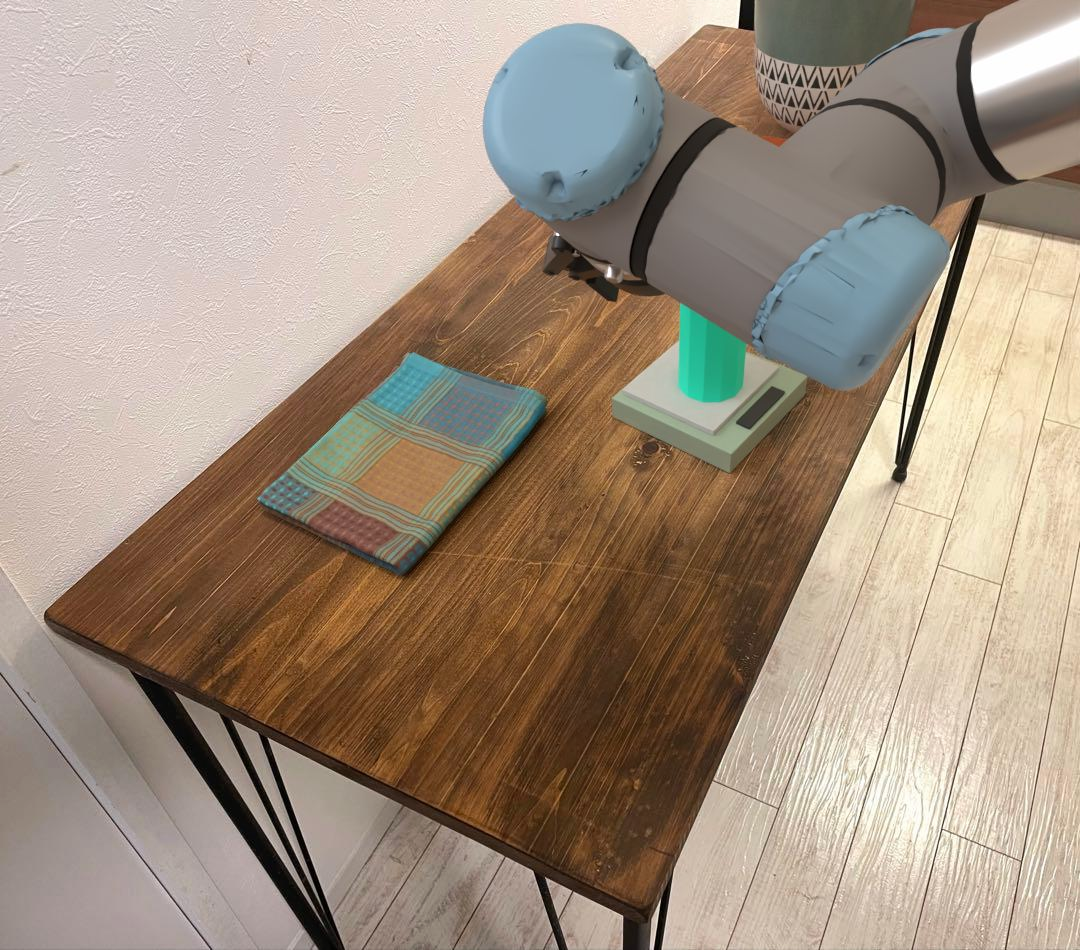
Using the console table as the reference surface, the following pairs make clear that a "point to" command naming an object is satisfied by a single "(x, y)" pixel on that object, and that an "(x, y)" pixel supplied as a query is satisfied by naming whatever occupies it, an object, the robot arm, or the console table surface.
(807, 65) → the planter
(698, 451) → the scale
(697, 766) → the console table surface
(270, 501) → the dish towel
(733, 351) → the candle
